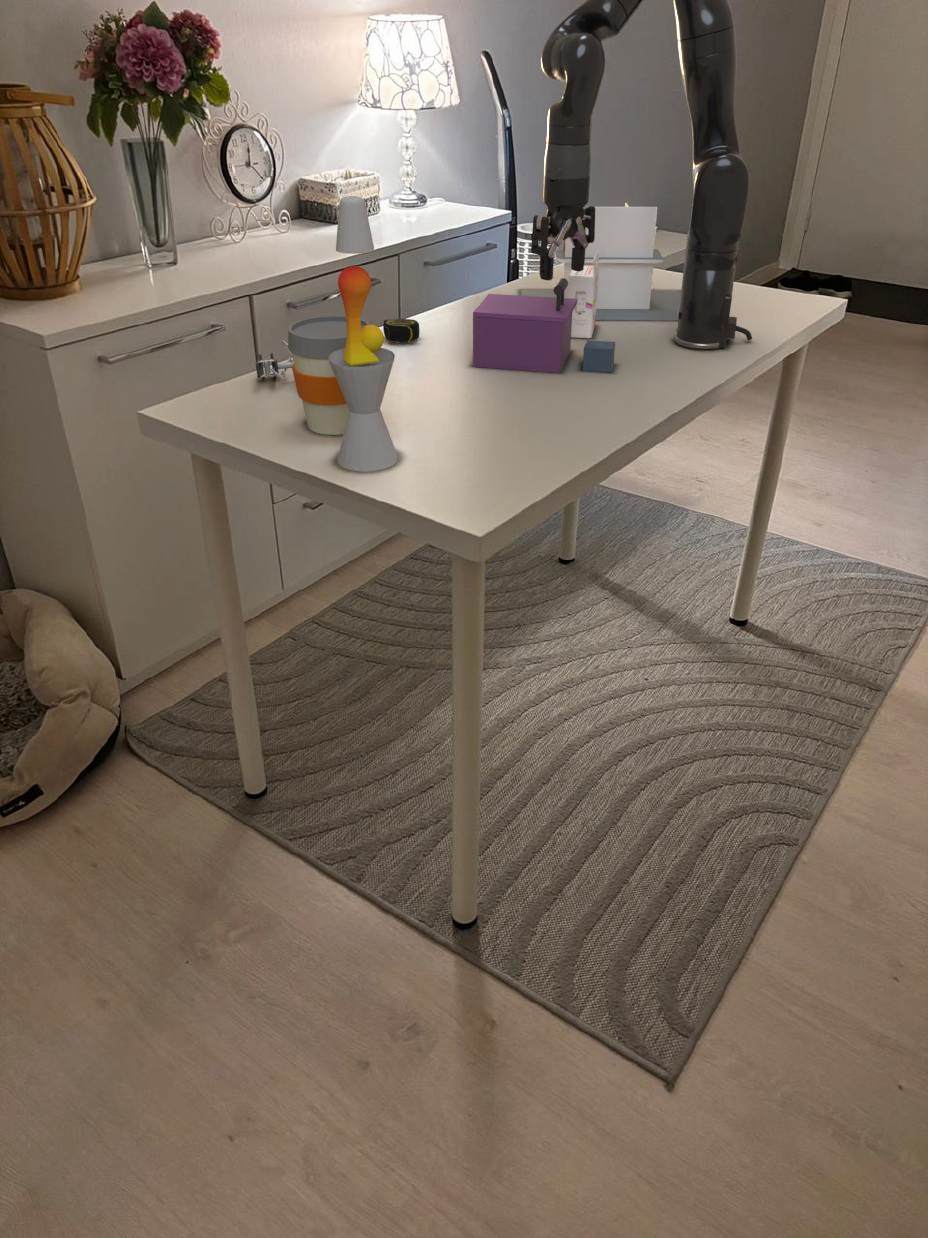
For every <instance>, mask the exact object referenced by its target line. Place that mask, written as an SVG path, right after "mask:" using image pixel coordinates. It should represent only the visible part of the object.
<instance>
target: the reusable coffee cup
mask: <svg viewBox="0 0 928 1238" xmlns="http://www.w3.org/2000/svg"><path fill="white" fill-rule="evenodd" d="M366 325H371V323H370V322H369V321H367V320H365V319H363V318H361V328H362V327H364V326H366ZM287 331H288V333H287V334H288V337H287V341H288V342H287V344H288V346H287V348H288V350H289V351H290V352H291V353H292V355H291V358H292V360H293V362H294V364H293V365H292V368H291V370H292V375H293V378H294V383H295V388H296V392H297V396H298V398H299V399H300V400H301V402H302V406H303V410H304V411H303V412H304V415H305V419H306V424H307V427H308V429H309V430H310V431H312V432H313V433H317V434H321V435H328V436H340V435H344V431H345V426H346V422H347V418H348V414H349V408H348V405H347V403H346V401H345V398H344V396H343V393H342V391H341V389H340V386H339V384H338V382H337V379H336V377H335V375H334V372H333V370H332V368H331V365H330V363H329V360H328V357H329V355H330V354H331V353H333V352H334V351H337V350H340V349H344V348H345V347H346V341H347V322H346V315H321V316H312V317H306V318H303V319H300V320H297V321H294V322H293V323H291V324H290V325H289V326H288V330H287Z"/></svg>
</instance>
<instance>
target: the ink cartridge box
mask: <svg viewBox="0 0 928 1238" xmlns="http://www.w3.org/2000/svg"><path fill="white" fill-rule="evenodd" d="M596 260H597V263H596ZM593 264H594V266H584V269H583V271H580V272H579V271H574V270H572V271H571V273H570V275H569V298H571V299H577V304H576V306H575V308H574V310H573V312H572V329H571V338H575V339H577V338H578V339H592V337H593V334H594V330H595V327H596V320H595V319H596V305H597V290H598V275H599V251H597V253H596V255H595V257H594V259H593Z"/></svg>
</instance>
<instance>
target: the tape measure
mask: <svg viewBox="0 0 928 1238" xmlns="http://www.w3.org/2000/svg"><path fill="white" fill-rule="evenodd" d="M382 329H383V330H382V332H383V335H384V339H386V340H387V341H388V342H394V343H398V344H409V343H410V342H414V341H417V340H419V338H420V332H421V331H420V323H419V321H417V320H416V319H411V318H395V319H394V318H393V319H384V320H383V325H382Z"/></svg>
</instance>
